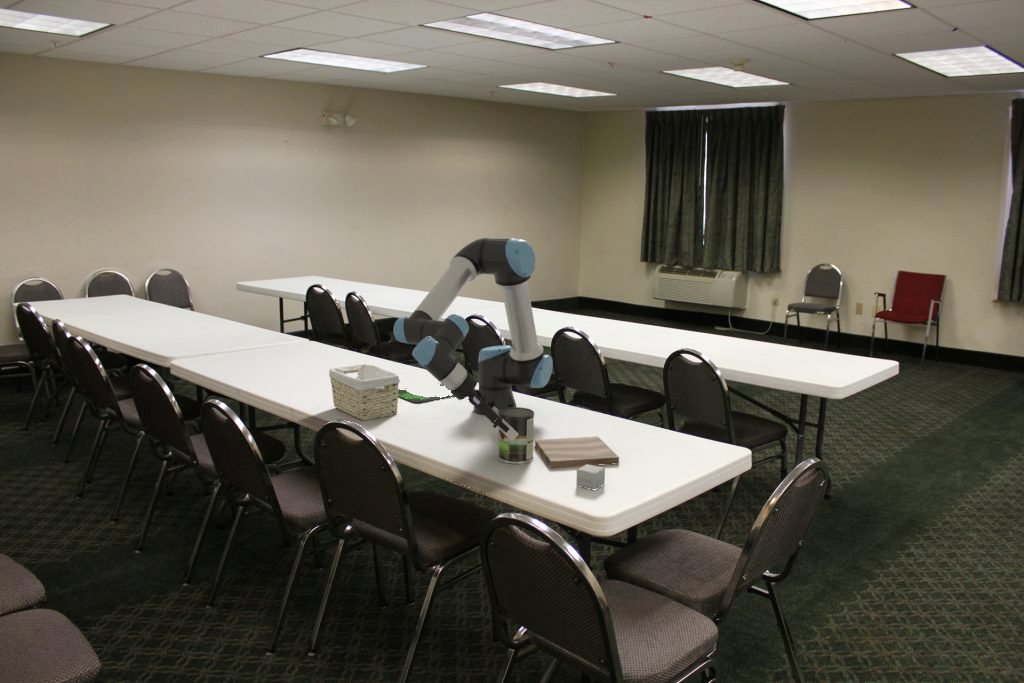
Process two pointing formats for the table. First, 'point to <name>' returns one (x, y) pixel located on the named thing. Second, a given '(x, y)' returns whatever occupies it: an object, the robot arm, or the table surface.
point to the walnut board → (575, 452)
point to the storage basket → (365, 391)
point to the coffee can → (523, 443)
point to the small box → (590, 476)
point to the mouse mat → (418, 397)
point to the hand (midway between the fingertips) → (510, 430)
